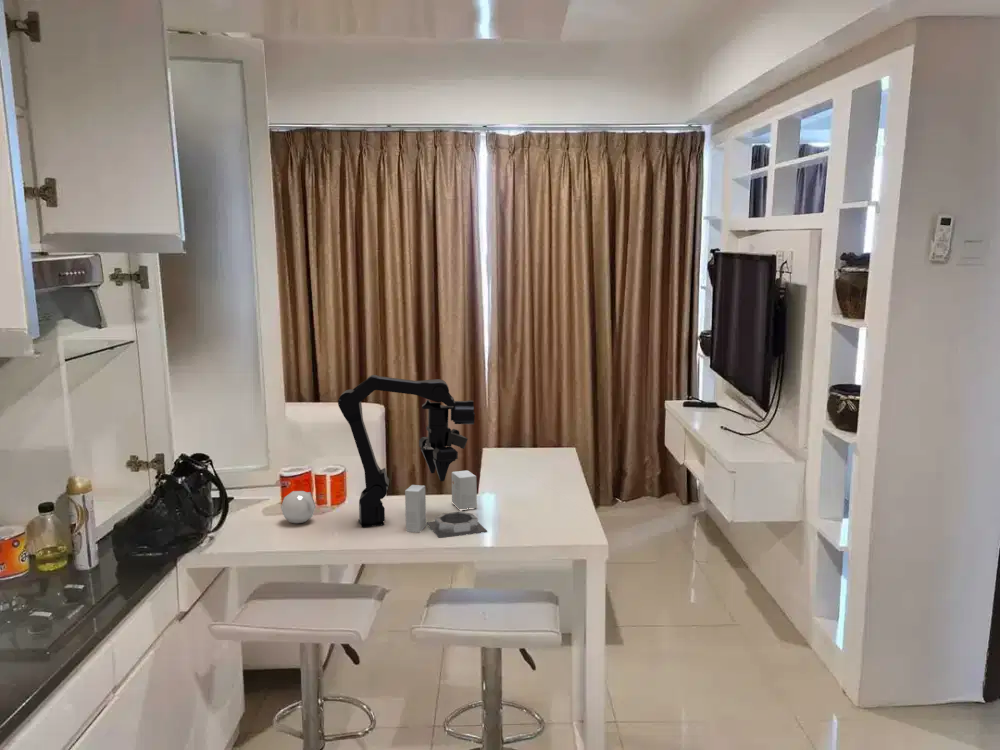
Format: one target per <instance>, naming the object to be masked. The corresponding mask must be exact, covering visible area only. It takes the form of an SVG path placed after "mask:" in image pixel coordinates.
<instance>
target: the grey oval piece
mask: <svg viewBox="0 0 1000 750" xmlns="http://www.w3.org/2000/svg"><path fill="white" fill-rule="evenodd" d="M280 508H281V512H282V515H283V518H284V519H285V520H286V521H287V522H289V523H291V524H305V523H306V522H307V521H309V520H310V519H311V518H312V517H313V515H314V512H315V509H316V503H315V500H314V498H313V494H312V492H311V491H304V490H293V491H290V493H288V494H287V495H286V496H284V497H283V501H282V503H281V506H280Z"/></svg>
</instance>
